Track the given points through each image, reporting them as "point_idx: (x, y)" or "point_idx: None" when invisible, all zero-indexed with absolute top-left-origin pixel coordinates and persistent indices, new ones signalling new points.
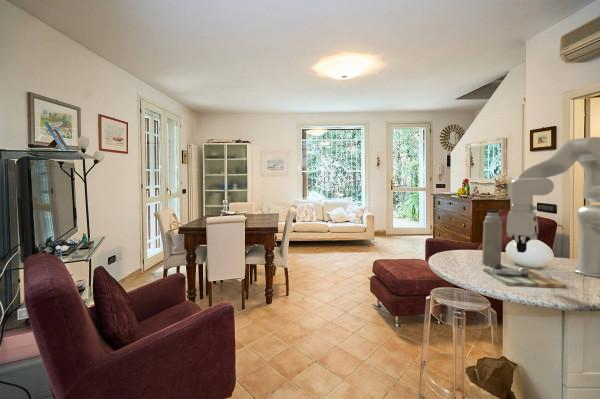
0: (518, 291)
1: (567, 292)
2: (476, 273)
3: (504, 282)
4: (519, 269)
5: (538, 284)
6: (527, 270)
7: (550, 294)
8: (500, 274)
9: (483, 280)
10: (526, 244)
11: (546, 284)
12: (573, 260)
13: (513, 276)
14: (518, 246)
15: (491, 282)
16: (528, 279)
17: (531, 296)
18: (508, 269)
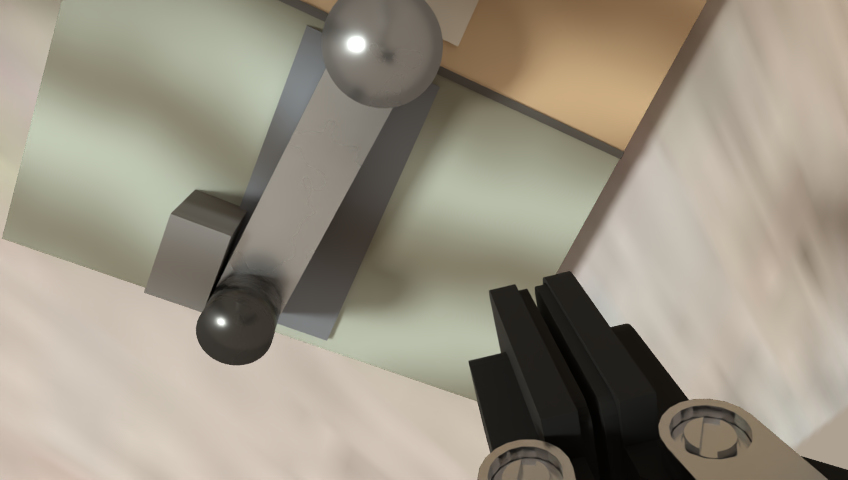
0: None
1: (818, 49)
2: (110, 369)
3: (461, 389)
4: (364, 102)
5: (617, 150)
6: (441, 54)
7: (769, 249)
8: None
9: (325, 463)
10: (683, 396)
11: (659, 81)
12: None
13: (381, 199)
14: None
15: (389, 442)
16: (499, 125)
17: None
18: (303, 211)
